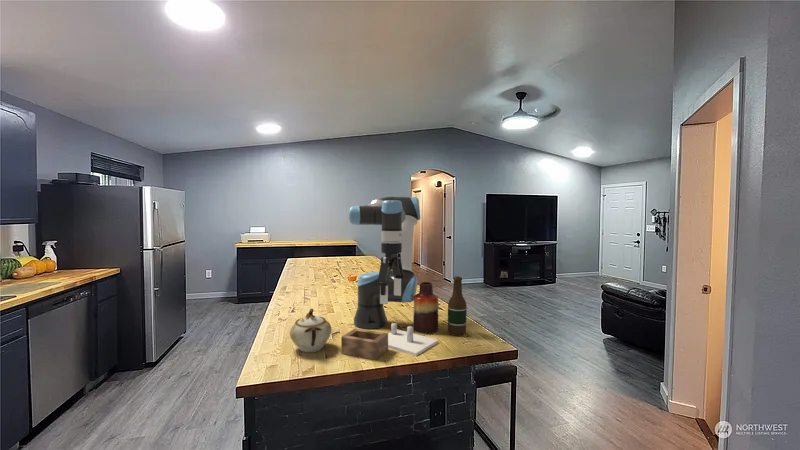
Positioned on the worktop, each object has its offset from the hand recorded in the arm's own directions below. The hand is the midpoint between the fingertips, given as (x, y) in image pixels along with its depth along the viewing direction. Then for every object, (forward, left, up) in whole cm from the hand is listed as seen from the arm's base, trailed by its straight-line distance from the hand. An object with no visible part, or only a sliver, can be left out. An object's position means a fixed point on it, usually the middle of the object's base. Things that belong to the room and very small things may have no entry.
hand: (390, 299), depth 128 cm
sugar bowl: (-24, -17, -19) cm, 35 cm away
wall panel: (+1, +9, -19) cm, 21 cm away
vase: (-1, +27, -19) cm, 33 cm away
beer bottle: (+12, +31, -19) cm, 38 cm away
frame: (-6, -7, -19) cm, 21 cm away
